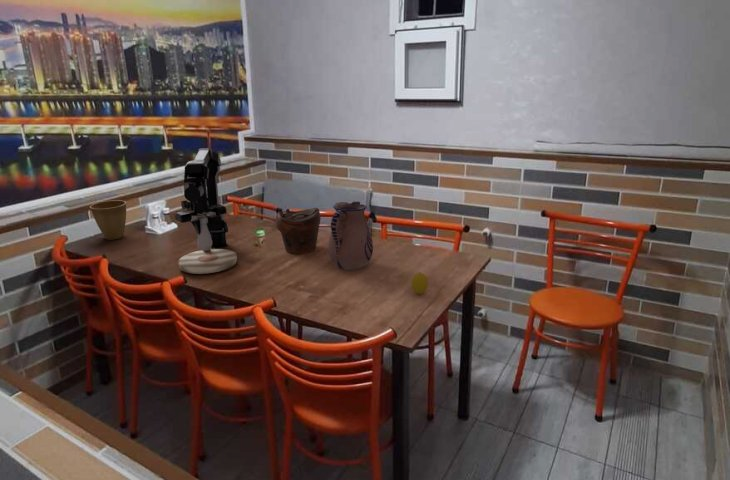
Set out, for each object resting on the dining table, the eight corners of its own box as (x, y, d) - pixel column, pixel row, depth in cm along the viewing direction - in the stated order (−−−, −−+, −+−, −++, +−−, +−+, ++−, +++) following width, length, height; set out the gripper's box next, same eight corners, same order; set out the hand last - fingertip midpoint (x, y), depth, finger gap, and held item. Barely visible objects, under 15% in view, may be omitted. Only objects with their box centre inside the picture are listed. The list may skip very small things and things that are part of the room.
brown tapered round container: (268, 250, 215) (265, 210, 209) (303, 239, 228) (302, 201, 223) (294, 260, 203) (293, 218, 197) (330, 248, 217) (330, 208, 211)
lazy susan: (179, 257, 205) (177, 243, 203) (234, 250, 211) (233, 237, 209) (178, 276, 185) (176, 261, 183) (239, 269, 191) (238, 254, 189)
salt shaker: (208, 252, 193) (204, 219, 189) (194, 251, 194) (191, 218, 190) (215, 247, 198) (212, 215, 194) (202, 246, 199) (199, 214, 195)
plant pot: (109, 231, 241) (103, 199, 236) (137, 233, 239) (132, 200, 234) (88, 241, 227) (82, 207, 222) (119, 243, 225) (113, 208, 220)
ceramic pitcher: (378, 261, 202) (379, 200, 194) (361, 281, 183) (360, 215, 175) (338, 256, 207) (337, 197, 199) (317, 275, 188) (315, 211, 180)
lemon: (410, 291, 174) (410, 270, 171) (425, 290, 174) (426, 269, 172) (412, 298, 169) (413, 276, 166) (428, 297, 169) (429, 275, 166)
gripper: (211, 188, 201) (215, 225, 206) (166, 196, 189) (171, 235, 194) (225, 192, 193) (229, 230, 198) (179, 201, 181) (184, 241, 186)
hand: (203, 234), depth 194 cm, fingers closed on salt shaker, 3 cm apart
